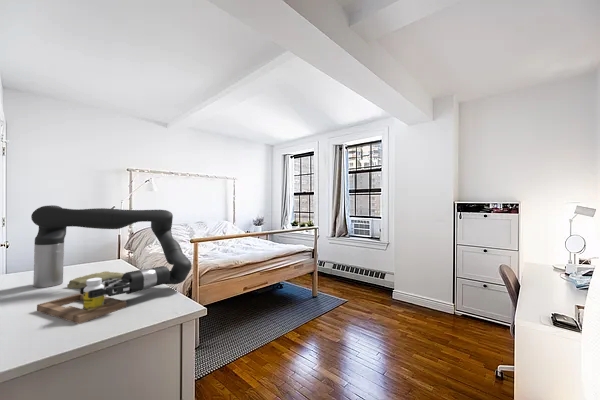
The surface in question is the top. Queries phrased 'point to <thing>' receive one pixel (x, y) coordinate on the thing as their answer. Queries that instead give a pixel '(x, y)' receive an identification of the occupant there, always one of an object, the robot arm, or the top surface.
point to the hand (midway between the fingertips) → (84, 293)
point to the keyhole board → (77, 313)
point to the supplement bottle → (96, 301)
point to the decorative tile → (105, 275)
